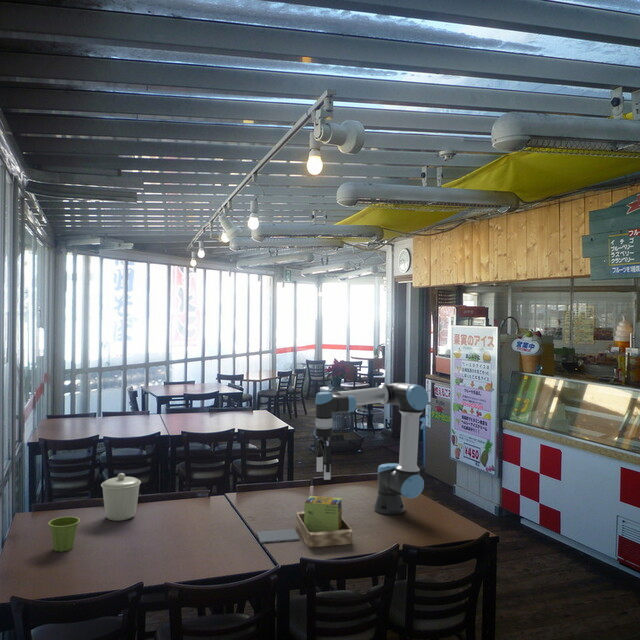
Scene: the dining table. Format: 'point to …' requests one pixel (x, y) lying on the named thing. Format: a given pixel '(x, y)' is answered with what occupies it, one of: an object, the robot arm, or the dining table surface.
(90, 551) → the dining table surface
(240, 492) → the dining table surface
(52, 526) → the plant pot
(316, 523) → the protein box
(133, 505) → the canister
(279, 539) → the mat
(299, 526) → the open wooden box
